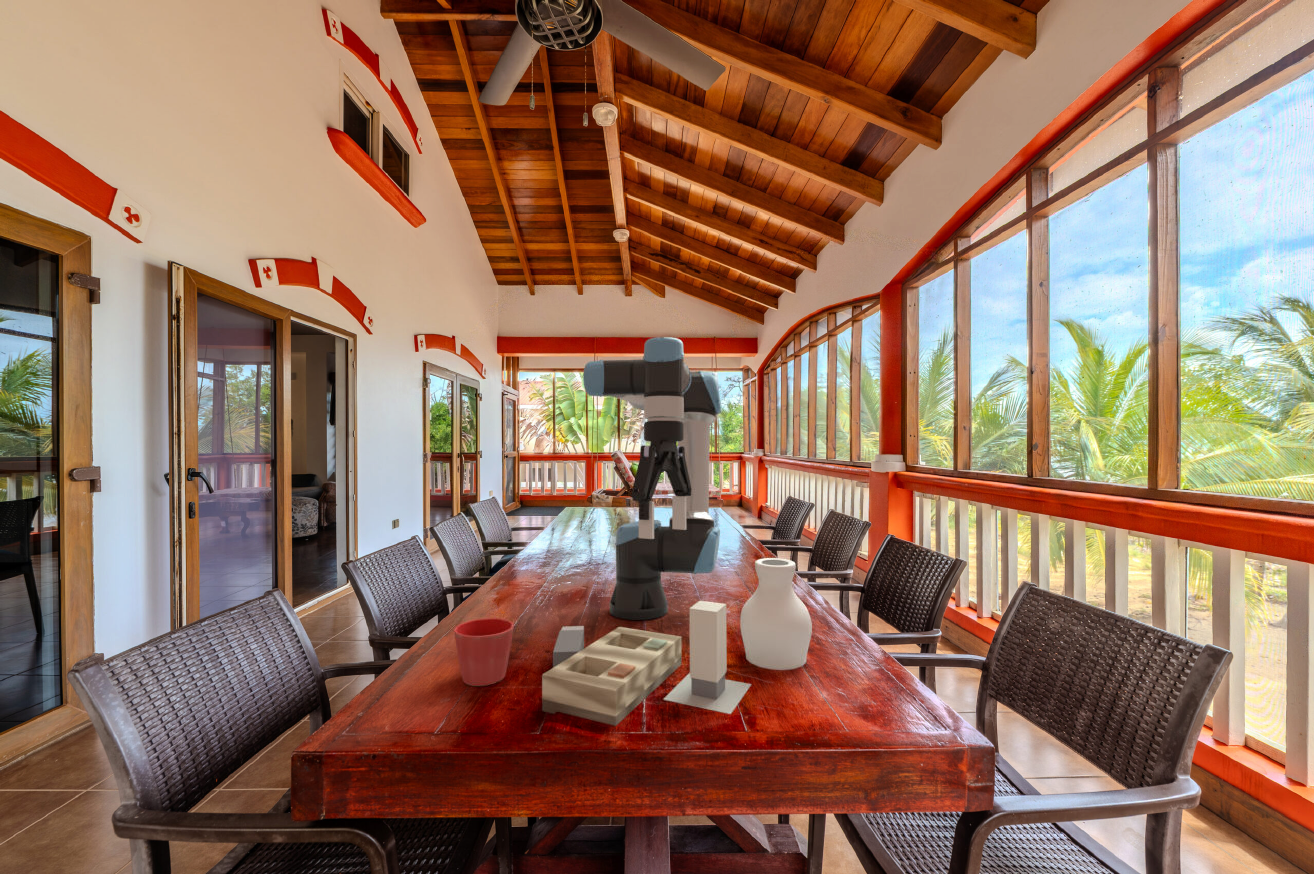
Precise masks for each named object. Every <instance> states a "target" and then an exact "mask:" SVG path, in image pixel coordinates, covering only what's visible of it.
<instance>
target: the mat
mask: <svg viewBox="0 0 1314 874" xmlns="http://www.w3.org/2000/svg"><path fill="white" fill-rule="evenodd" d="M751 686H752V683H749V682H748V683H746V682H741V681H736V680H732V679H726V678H725V690H724V691H723V692H722V694H721V695H720V696H719V697H718V699H717V700H716V699H711V698H706V697H701V696H696V695H692V692H691V678H690V672H689V673H688V674H687V675H686V676H685V677H683V679H682V680H681V681H680V682H679V683H678V684H677V685H676V686H675V687H674V688H673V689H671V690H670V692H669V693H668V694H667V695H666V696H665V697H664V698H663V700H664V701H666V702H671V703H673V702H674V703H677V704H682V705H687V706H691V707H696V708H701V709H704V710H705V709H706V710H710V711H713V712H718V713H723V714H728V715H732V713H733V712H734V710H735V709H736V708H737V706H738V705H739V703H740V701H741V700H742V699H743V698H744V696H745V694H746V693H747V691H748V690H749V689H750V687H751Z"/></svg>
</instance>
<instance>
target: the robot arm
mask: <svg viewBox="0 0 1314 874" xmlns="http://www.w3.org/2000/svg"><path fill="white" fill-rule="evenodd" d="M684 357H685V353H684V343H683V341H682V340H681V339H679V338H677V337H672V336H671V337H670V336H660V337H659V336H657V337H651V338H649V339H647V340H646V341H645V343H644V349H643V356H642V359H641V358H639V359H619V360H617V359H616V360H615V359H614V360H613V359H610V360H608V359H607V360H604V359H600V360H593V361H592V360H591V361H588V362H587V363H586V364H585V366H584V368H583V372H582V373H583V375H582V376H583V377H582V379H583V380H582V381H583V382H582V383H583V386H584V390H585V392H586V394H587V395H588V396H591V397H600V398H601V397H612V398H616V399H619V400H622V401H625V402H628V403H629V405H631V407H633V408H635V409H638V410H641V411H643V418H644V419H646V420H647V421H645V422H644V423H643V440H644V441H645V442H650V444H649V445H641V446H640V452H639V453H640V455H639V460H638V464H637V468H636V471H635V473H636V474H635V477H634V481H633V486H632V490H631V499H632V501H634V502H638V521H632V522H627V523H624V524H622V525H619V526H618V528H617V530H616V533H615V534H616V535H615V571H616V573H615V576H616V577H615V578H616V579H615V580H616V581H615V585H614V588H613V592H612V595H611V598H610V601H609V614H610V615H611V616H613V617H615V618H617V619H623V620H628V621H645V620H647V621H648V620H653V619H657V618H661V617H663V616H665V615H666V614H667V613H668V612H669V611H668V610H669V607H668V606H669V605H668V599H667V596H666V593H665V590H664V587H663V583H662V573H674V574H675V573H676V574H681V573H682V574H693V575H697V574H710V573H712V572H713V571H714V570H715V567H716V563H717V558H718V553H719V545H720V537H721V530H720V528H719V527H717V526H715V520H714V519H713V518H712V516H711V515H710V513H709V511H710V510H709V508H710V507H709V503H710V502H709V501H710V452H711V451H710V445H711V444H710V443H711V442H710V441H711V439H710V437H711V426H712V425H713V423H715V422H716V419H717V415H719V414H721V413H722V404H721V397H720V390H719V389H720V388H719V383H718V376H717V375H716V374H715V373H714V372H713V371H702V370H697V371H690V368H689V366H688V365H687V364H686V363H685V361H684V359H685V358H684ZM664 472H665V473H666V476H667V478H668V482H669V483H670V485H671V488H672V491H673V493H674V495H673V496H672V499H671V501H672V505H671V506H672V508H671V509H672V512H671V513H672V514H671V517H670V518H669V521H668V522H669V524H668V525H669V526H668V525H666V526H663V525H662V522H661V521H660V520H659V519H655V501H652V499H653V496H654V495H655V494H654V493H655V491H656V488H657V486H658V483H659V481H660V478H661V475H662V473H664Z"/></svg>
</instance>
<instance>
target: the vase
mask: <svg viewBox="0 0 1314 874" xmlns="http://www.w3.org/2000/svg"><path fill="white" fill-rule="evenodd" d="M796 565H797V564H796V563H795V561H793V560H791V559H785V558H779V557H766V558H759V559H757V560H755V561H754V569H755V572H756V575H757V578H758V584H757V588H756V590H755V591H754V593H752V595H751V596H750V597H749V599H747V600H746V602H745V603H744V604H743V607H742V608H741V612H740V617H739V618H740V619H739V620H740V635H741V637H742V638H741V639H742V642H743V646H744V652H745V659H746V660H747V661H748V662H749V663H750V664H753V665H754V666H756V667H759V668H763V669H768V670H776V671H787V670H796V669H798V668H801V667H803V666H804V665H805V664H807V659H808V658H807V657H808V651H809V647H810V643H811V639H812V631H813V623H812V618H811V615H810V612H809V610H808V609H807V608H808V607H806V605H805V604H804V602H803V601H802V600H801V599H800V597H798V595H797V594H796V592H795V591H794V588H793V578H794V576H795V572H796Z"/></svg>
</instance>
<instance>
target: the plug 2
mask: <svg viewBox="0 0 1314 874" xmlns="http://www.w3.org/2000/svg"><path fill="white" fill-rule="evenodd" d="M727 646H728V645H727V604H726V603H722V602H721V603H720V602H712V601H706V600H705V601H704V600H698V602H696V603H694V604H693V605H692V606H690V607H689V673H690V678H691V692H692V695H696V696H701V697H706V698H711V699H716V700H717V699H718V697H719V696H720V695H721V694H722V692H723V691H724V690H725V679H726V673H727V672H728V671H727V670H728V668H727V664H728V663H727V656H728V655H727Z"/></svg>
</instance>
